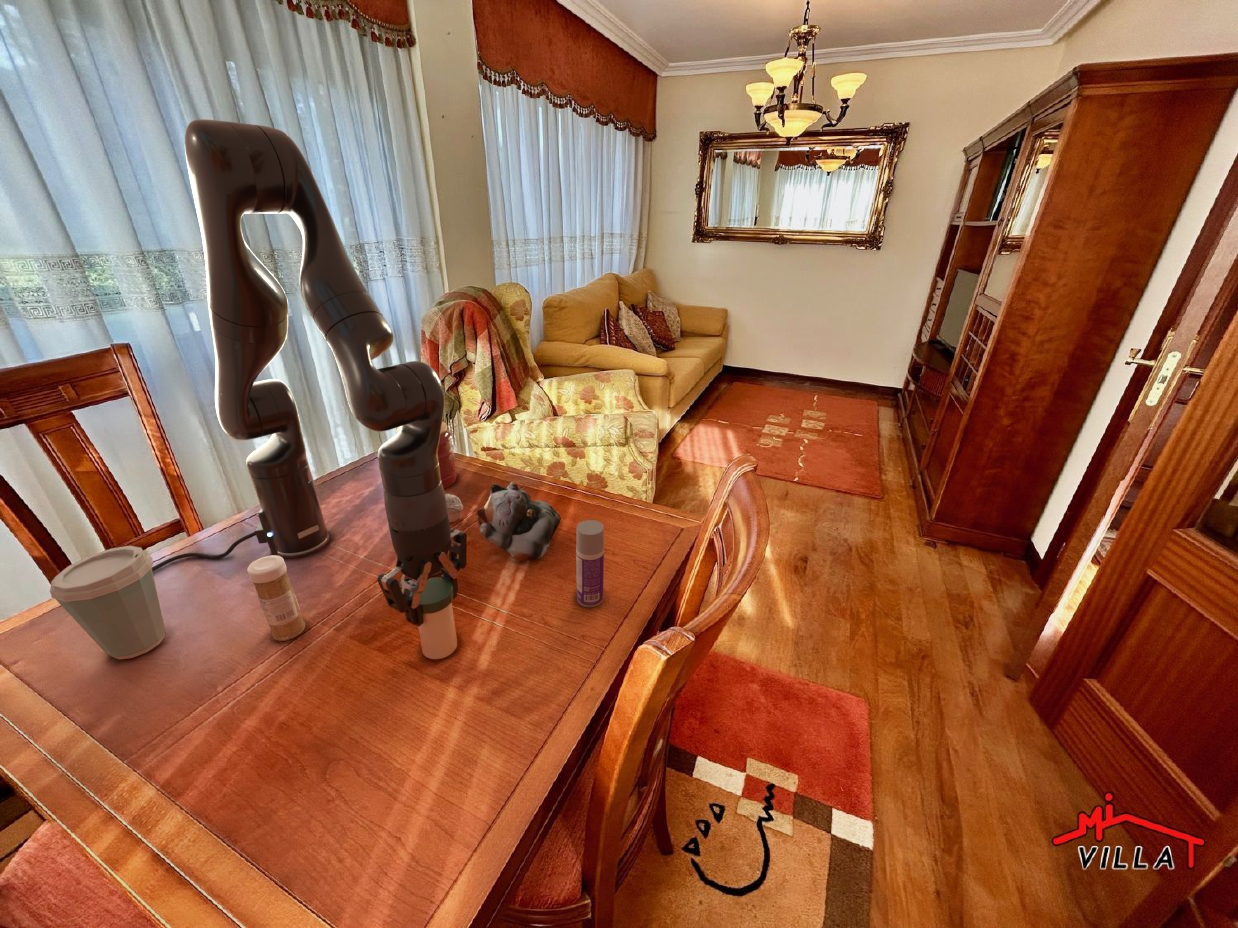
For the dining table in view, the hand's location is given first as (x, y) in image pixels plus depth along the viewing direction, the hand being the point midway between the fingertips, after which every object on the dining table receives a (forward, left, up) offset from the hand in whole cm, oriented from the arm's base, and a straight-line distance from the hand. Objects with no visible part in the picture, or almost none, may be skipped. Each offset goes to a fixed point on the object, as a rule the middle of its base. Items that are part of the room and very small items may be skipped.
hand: (434, 609), depth 74 cm
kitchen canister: (-4, +56, -8) cm, 57 cm away
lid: (0, 0, +3) cm, 3 cm away
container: (+25, +5, -8) cm, 27 cm away
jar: (0, 0, -7) cm, 7 cm away
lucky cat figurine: (+15, +24, -8) cm, 29 cm away
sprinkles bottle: (-23, +9, -8) cm, 26 cm away
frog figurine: (+1, +36, -8) cm, 37 cm away
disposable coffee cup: (-44, +12, -8) cm, 46 cm away
